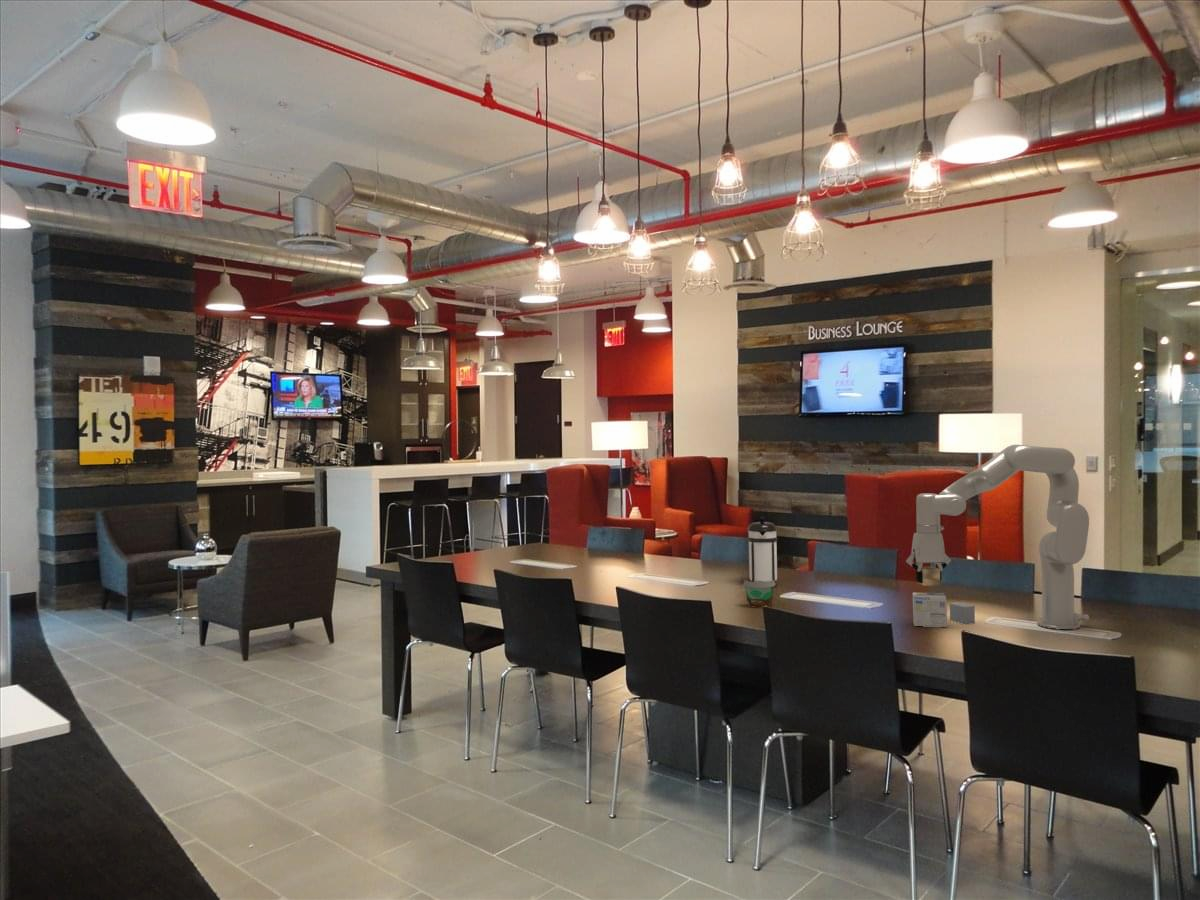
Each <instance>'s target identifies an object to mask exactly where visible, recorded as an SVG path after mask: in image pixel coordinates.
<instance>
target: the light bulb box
mask: <svg viewBox="0 0 1200 900" xmlns="http://www.w3.org/2000/svg"><path fill="white" fill-rule="evenodd" d="M947 603H948V602H947V596H946V594H945V593H944V592H940V593H939V592H912V615H913V616H912V618H913V619H912V620H913V622H912V623H913V626H914V627H915V626H923V627H922V628H941V627H947V628H948V608H947V607H948V605H947Z"/></svg>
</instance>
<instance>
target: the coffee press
mask: <svg viewBox="0 0 1200 900" xmlns="http://www.w3.org/2000/svg"><path fill="white" fill-rule="evenodd" d="M765 520H766V518H765V517H764V516H760V517H759V521H756V522H752V523H750V524H749V525H748V527H747V531H748V536H747V540H748V566H749V567H748V569H749V571H748V573H749V574H748V575H749V580H750V581H751V582H754V581H764V582H770V581H773V580H774V582H775V581H776V582H775V585H777V586H778V584H777V580H778V556H777V555H778V554H777V553H778V552H777V549H778V547H777V545H778V544H777V541H778V536H777V531H778V528H777V527H776V525H775V524H774V523H773V522H769V521H765Z"/></svg>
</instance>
